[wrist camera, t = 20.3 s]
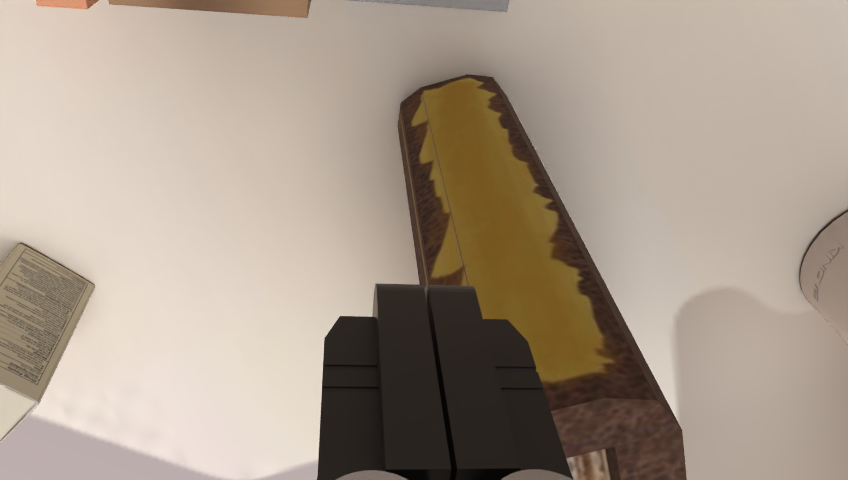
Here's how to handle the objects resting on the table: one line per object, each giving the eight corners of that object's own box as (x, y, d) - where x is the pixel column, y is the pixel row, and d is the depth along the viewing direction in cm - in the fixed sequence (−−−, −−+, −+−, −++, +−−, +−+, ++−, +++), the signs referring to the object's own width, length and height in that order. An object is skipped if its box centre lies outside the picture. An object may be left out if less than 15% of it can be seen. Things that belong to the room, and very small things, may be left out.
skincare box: (-18, 285, 43) (-108, 404, 35) (20, 239, 42) (-64, 351, 33) (62, 330, 46) (-5, 452, 37) (100, 287, 44) (40, 404, 36)
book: (369, 102, 40) (389, 451, 18) (520, 59, 39) (721, 369, 18) (459, 386, 51) (535, 803, 30) (576, 356, 50) (739, 760, 29)
